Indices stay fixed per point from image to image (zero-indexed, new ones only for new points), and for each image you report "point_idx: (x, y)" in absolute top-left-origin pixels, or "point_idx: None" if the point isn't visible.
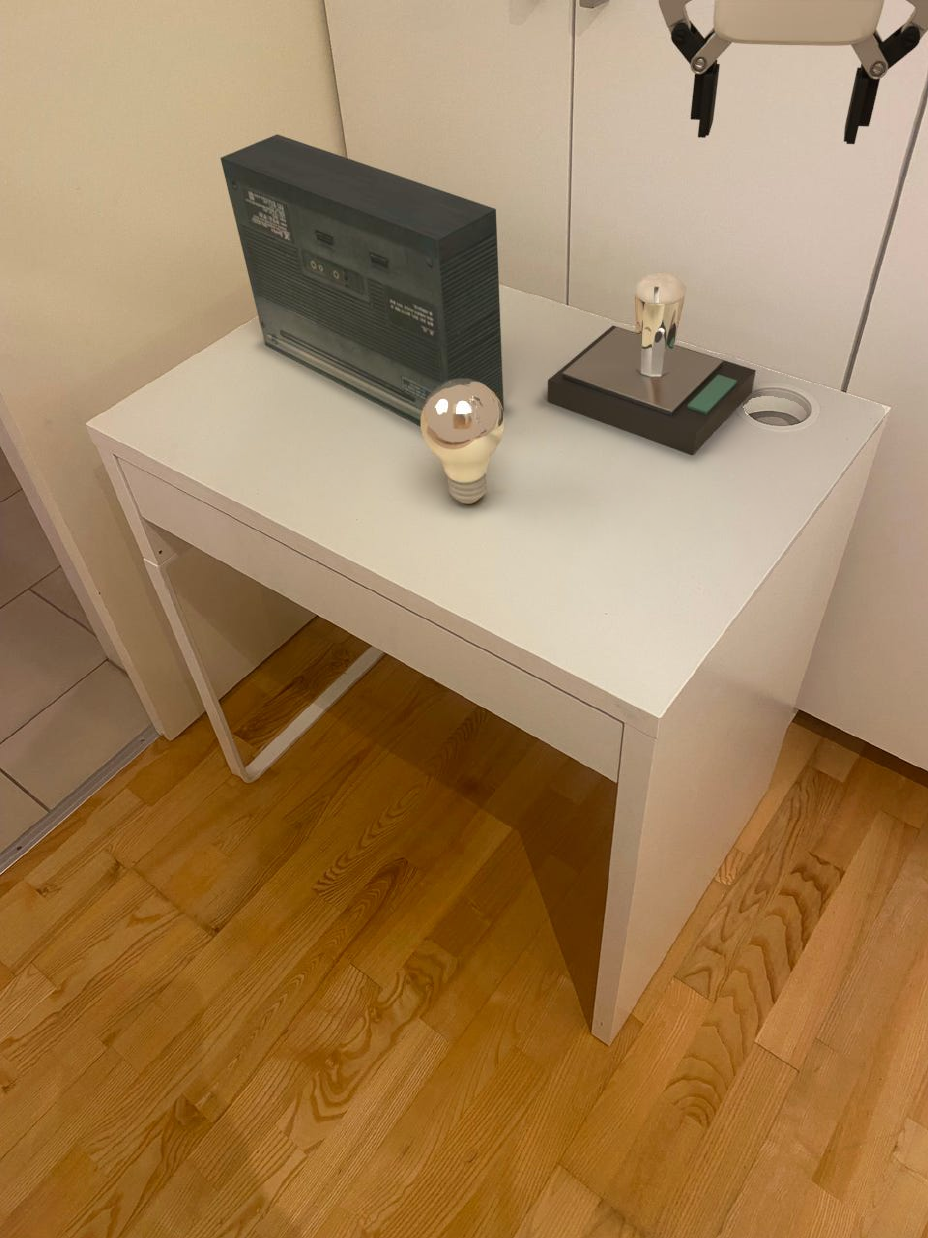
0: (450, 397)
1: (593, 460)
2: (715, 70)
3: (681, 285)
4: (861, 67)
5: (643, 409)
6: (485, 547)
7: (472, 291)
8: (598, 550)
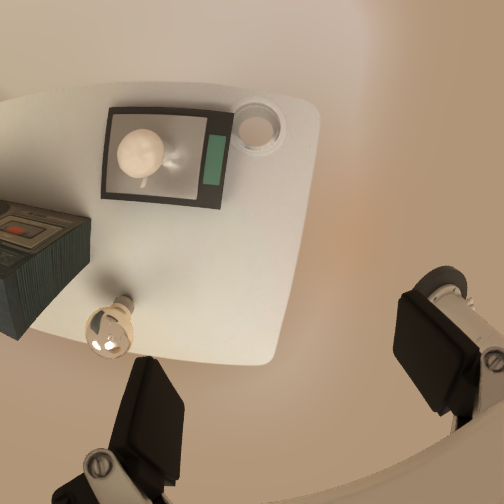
0: (104, 356)
1: (164, 239)
2: (158, 468)
3: (157, 147)
4: (459, 384)
5: (174, 199)
6: (156, 325)
7: (39, 282)
8: (207, 306)
